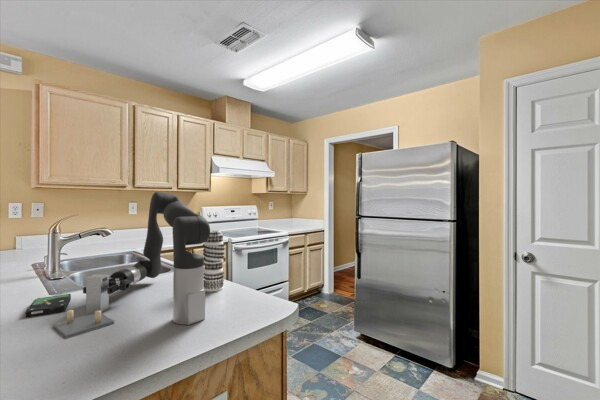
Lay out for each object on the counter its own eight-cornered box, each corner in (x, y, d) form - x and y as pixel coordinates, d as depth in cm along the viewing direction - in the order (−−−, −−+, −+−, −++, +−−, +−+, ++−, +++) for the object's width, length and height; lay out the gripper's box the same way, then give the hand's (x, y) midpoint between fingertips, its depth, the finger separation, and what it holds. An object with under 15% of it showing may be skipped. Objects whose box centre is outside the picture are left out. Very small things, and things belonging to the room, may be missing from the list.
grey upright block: (108, 308, 102) (109, 274, 102) (100, 312, 98) (101, 277, 98) (94, 308, 102) (94, 274, 102) (85, 312, 98) (86, 277, 98)
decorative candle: (215, 292, 120) (216, 232, 120) (197, 290, 124) (198, 231, 124) (228, 286, 129) (229, 230, 129) (211, 284, 132) (212, 229, 132)
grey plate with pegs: (114, 323, 90) (114, 309, 90) (66, 338, 80) (66, 322, 80) (98, 314, 97) (98, 301, 97) (53, 326, 87) (53, 312, 87)
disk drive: (66, 313, 99) (70, 300, 111) (66, 305, 99) (71, 292, 111) (24, 320, 93) (34, 305, 106) (25, 311, 93) (34, 297, 106)
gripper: (108, 268, 116) (75, 279, 100) (143, 269, 116) (116, 280, 99) (108, 287, 116) (75, 301, 100) (143, 287, 116) (116, 302, 99)
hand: (96, 290), depth 100 cm, fingers open, 8 cm apart
